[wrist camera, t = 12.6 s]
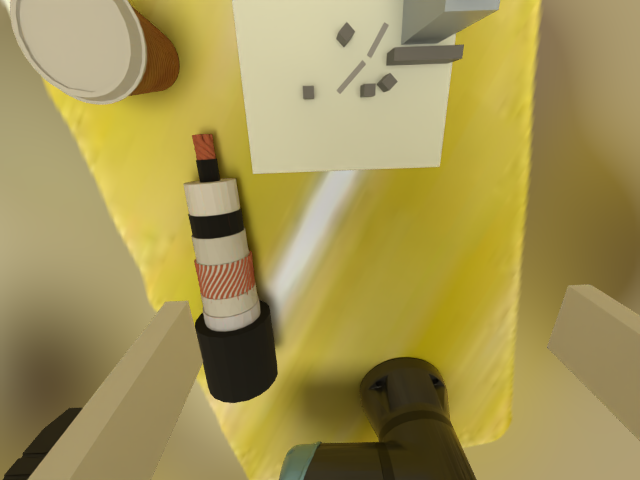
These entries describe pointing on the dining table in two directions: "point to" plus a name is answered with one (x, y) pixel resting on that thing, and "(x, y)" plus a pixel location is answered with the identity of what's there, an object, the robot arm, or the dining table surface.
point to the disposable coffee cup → (94, 48)
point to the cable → (227, 287)
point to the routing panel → (340, 86)
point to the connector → (441, 18)
